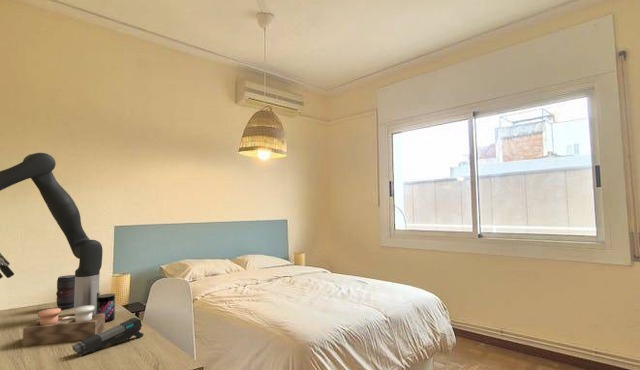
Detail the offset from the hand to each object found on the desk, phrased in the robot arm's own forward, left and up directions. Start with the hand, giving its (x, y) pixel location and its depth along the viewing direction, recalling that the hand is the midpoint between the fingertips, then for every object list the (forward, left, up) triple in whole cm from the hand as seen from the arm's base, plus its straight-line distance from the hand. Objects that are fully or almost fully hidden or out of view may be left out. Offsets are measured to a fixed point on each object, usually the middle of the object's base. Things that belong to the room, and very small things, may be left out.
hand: (5, 277), depth 122 cm
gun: (-28, +29, -23) cm, 47 cm away
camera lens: (-20, -40, -23) cm, 50 cm away
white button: (-22, +11, -20) cm, 32 cm away
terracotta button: (-13, +6, -20) cm, 24 cm away
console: (-17, +8, -23) cm, 30 cm away
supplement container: (-31, -4, -23) cm, 39 cm away
